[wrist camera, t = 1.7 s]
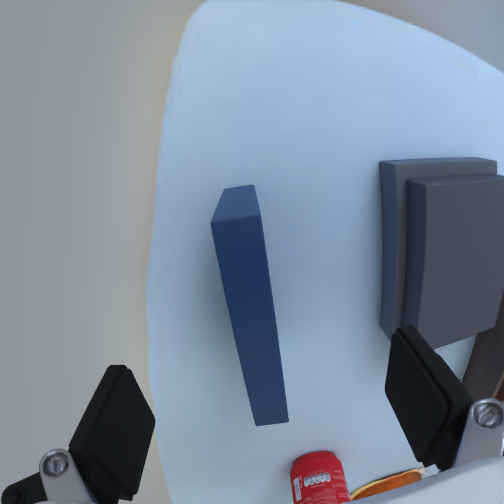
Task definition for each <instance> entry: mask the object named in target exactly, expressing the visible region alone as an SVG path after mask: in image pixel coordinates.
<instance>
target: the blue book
mask: <svg viewBox="0 0 504 504" xmlns="http://www.w3.org/2000/svg"><path fill="white" fill-rule="evenodd" d="M211 228H212V233H213V238H214V244H215V249H216V254H217V258H218V263H219V268H220V273H221V278H222V283H223V287H224V292H225V297H226V301H227V306H228V311H229V315H230V320H231V324H232V329H233V333H234V338H235V342H236V346H237V351H238V355H239V359H240V364H241V368H242V372H243V376H244V381H245V385H246V389H247V393H248V397H249V401H250V405H251V409H252V413H253V417H254V421H255V425H256V426H262V425H271V424H278V423H285V422H289V419H288V411H287V403H286V395H285V387H284V379H283V371H282V364H281V356H280V349H279V341H278V334H277V326H276V319H275V311H274V304H273V297H272V290H271V283H270V275H269V268H268V261H267V254H266V247H265V240H264V234H263V227H262V220H261V214H260V210H259V205H258V201H257V196H256V192H255V188H254V185H248V186H241V187H235V188H229V189H224V191H223V194H222V196H221V199H220V201H219V203H218V206H217V208H216V211H215V213H214V216H213V218H212V220H211Z"/></svg>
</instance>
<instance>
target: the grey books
mask: <svg viewBox="0 0 504 504" xmlns="http://www.w3.org/2000/svg"><path fill="white" fill-rule="evenodd" d="M380 172H381V187H382V208H383V286H382V306H381V321H380V327H381V328H382V330H383V331H384V333H385V334H386V336H387V337H388V339H389V341H390V342H391V338H392V334H393V333H396V329H397V328H400V327H404V326H408V325H413V326H414V327H415V328H416V329H417V330H418V332H419V333H420V334H421V335H422V336H423V338H424V339H425V340H426V341H427V343H428V344H429V345H430V347H431V348H432V349H436V348H439V347H442V346H445V345H448V344H451V343H454V342H457V341H459V340H462V339H465V338H468V337H470V336H473V335H476V334H478V333H481V332H483V331H486V330H488V329H491V328H493V327H494V326H495V324H496V320H497V316H498V312H499V308H500V304H501V300H502V295H503V291H504V176H502V175H498V174H497V161H494V160H489V159H483V158H429V159H407V160H390V161H380Z"/></svg>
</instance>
